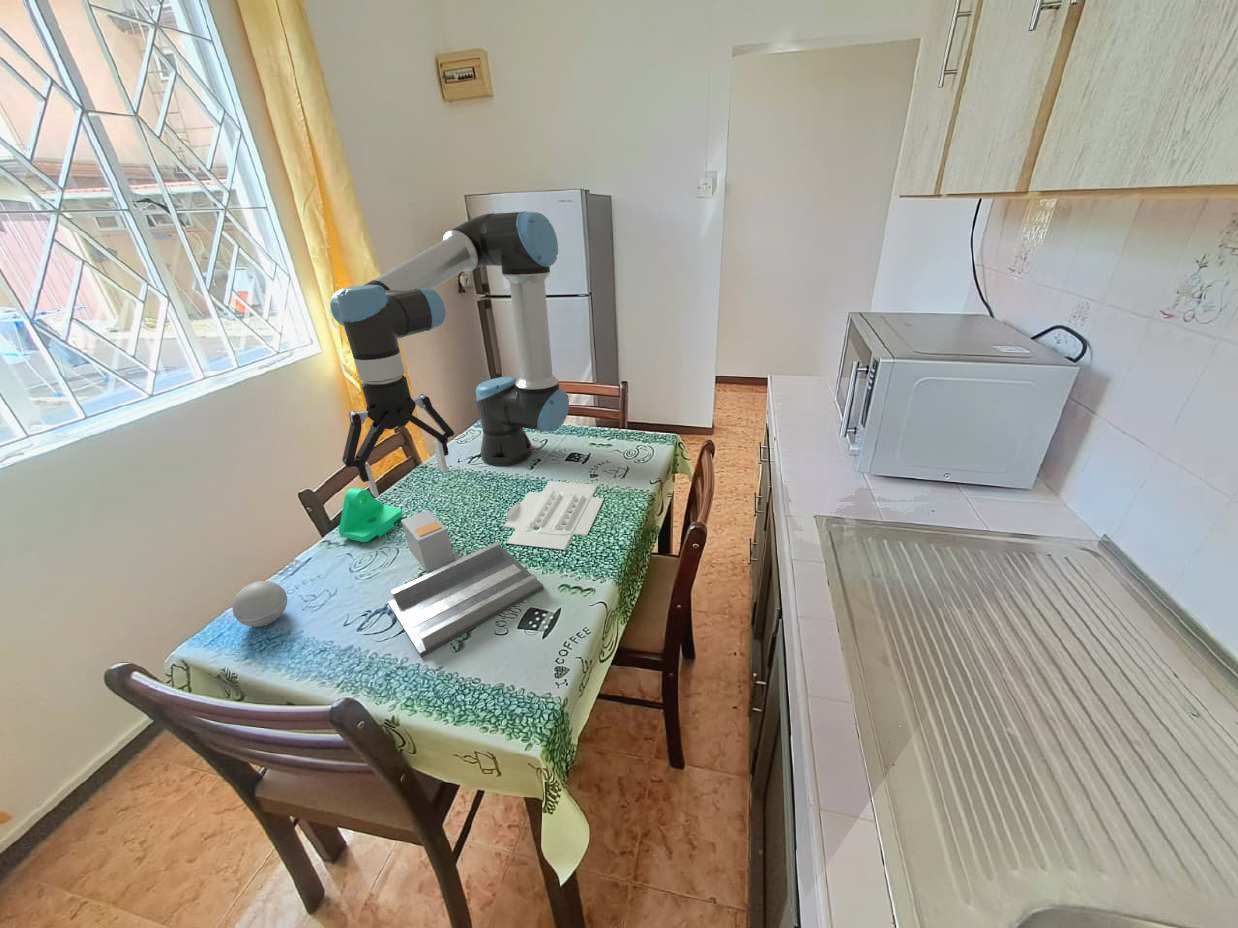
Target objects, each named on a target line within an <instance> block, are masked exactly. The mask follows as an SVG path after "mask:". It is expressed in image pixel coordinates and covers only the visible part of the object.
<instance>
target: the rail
mask: <svg viewBox="0 0 1238 928" xmlns="http://www.w3.org/2000/svg"><path fill="white" fill-rule="evenodd" d="M537 578H538V577H537V576H536V575H535V574H533V573H531V572H530V571H528V569H526V568H525V567H524V566H523V565H522V564H521V563H520V562H519V561H518V560H517V559H516V558H514V557H513V556H512V555H511V554H510V553H509V552H508V551H507V550H506V549H505V548H504V547H502V546H501V542H499V541H495V542H494V543H491V544H489V545H487V546H484V547H483V548H480V549H478V550H477V551H474V552H472V553H470V554H467V555H465V556H464V557H461V558H458V559H457V560H453V562H450V563H447V564H446V565H444V566H440V567H438V568H436V569H434V570H433V571H430V572H429V573H428V572H427V574H424V575H421V576H420V577H418V578H416V579H414V580H411V581H410V582H408V583H404V584H403V585H401V586H399V587H396V588H394V589H392V590H390V591H391V595H392V597H393V599H392V600H390V601H388V605H389V607H390V608H391V611H392V612H393V614H394V616H395V617H396V619H397V620H398V622H399V624H400V626H401V627H402V629H403V630H404V632H405V633H406V636H407V637H408V638H409V641H410V642H411V644H412V645H413V647H414V649H415V650H416V652H417V653H418V655H419V657H420V658H423V657H425V656H427V655H428V654H430V653H432V652H434V651H436V650H437V649H438V650H439V648H441V647H443V646H445V645H446V644H448V643H450V642H451V641H453V640H455V639H457V638H459V637H461V636H463V635H464V634H466V633H468V632H470V631H471V630H474V629H475V628H477V627H479V626H481V625H482V624H484V623H486V622H488V621H490V620H492V619H493V618H495V617H497V616H499V615H500V614H502V613H504V612H506V611H507V610H509V609H511V608H513V607H515V606H517V605H519V604H520V603H522V602H524V601H525V600H527V599H529V598H530V597H533V596H534V595H536V594H538V593H540V592H541V591H543V590H544V589H545V588H544V584H543V583H542V582H540V581H539V579H537Z"/></svg>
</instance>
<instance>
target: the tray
mask: <svg viewBox="0 0 1238 928" xmlns="http://www.w3.org/2000/svg"><path fill="white" fill-rule="evenodd" d="M598 486H599V485H598V484H591V483H590V484H589V483H579V482H567V481H551V480H550V481H548V482H547V484H545V486H544V488H543V490H542V491H539V492H534V491H528V492H527V494H526V495H525V496H524V497H523V499H522V500H521V501H520V503H519V502H517V503H515V504H513V505H512V506H511V507H510V508H509V510H508V511H507V514H506V520H505V523H504V524H503V528H506V529H507V528H508V529H510V528H511V529H515V530H514V531H513V532H512V534H511V536H510V537H509V538H508V540H507V541H506V544H511V545H517V546H518V545H520V546H527V547H536V548H537V547H539V548H544V549H545V548H546V549H555V550H563V551H566V549H567V547H568V545H569V544H570V541H571V539H572V538H573V536H575V535H578V536H585V537H586V536H587V537H588V534H589V532H590V529H591V528H592V525H593V523H594V521H595V519H596V517H597V515H598V513H599V510H600V508H601V507H602V504H603V502H604V500H605V498H604V497H594V495H595V493H596V490H597V488H598ZM534 528H538V529H534Z"/></svg>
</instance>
